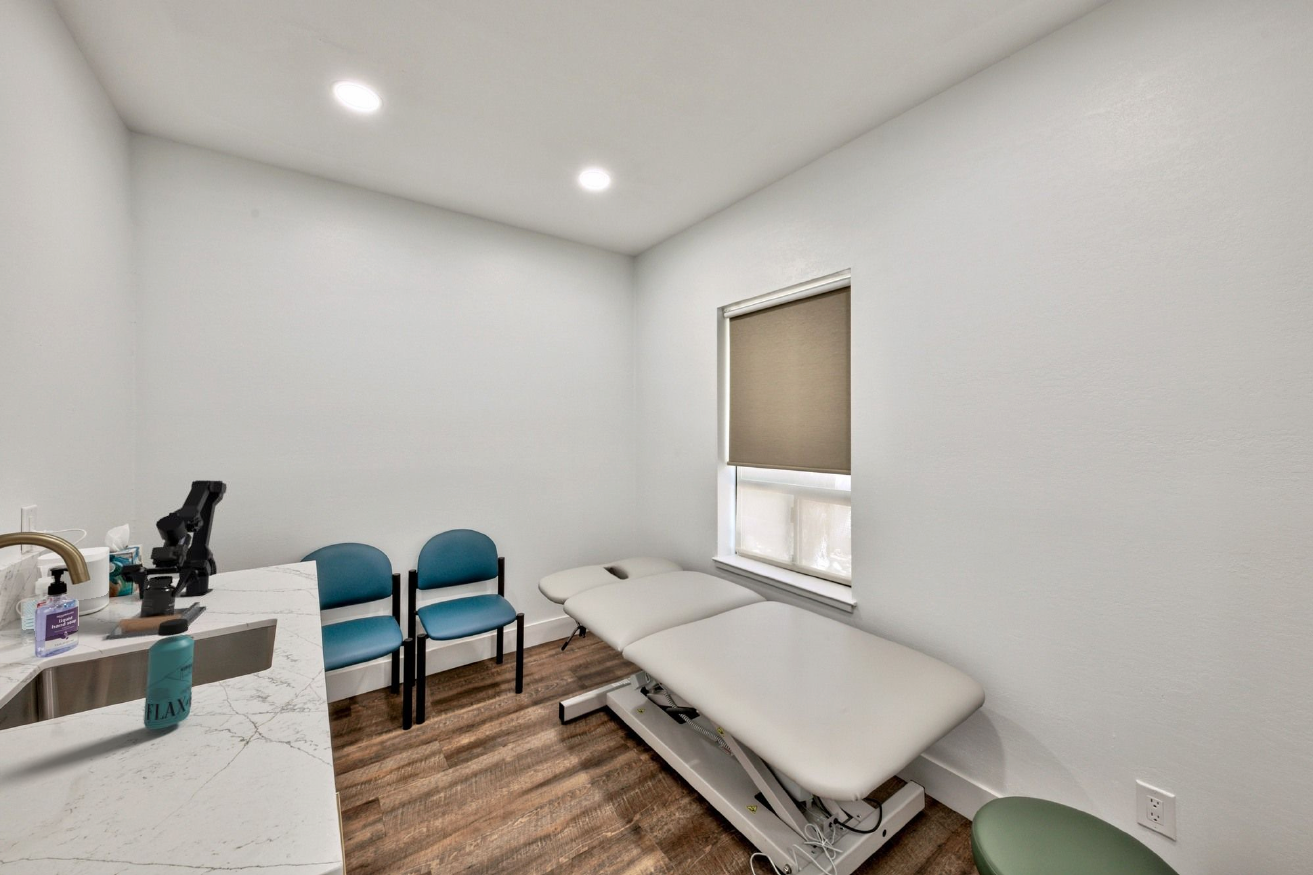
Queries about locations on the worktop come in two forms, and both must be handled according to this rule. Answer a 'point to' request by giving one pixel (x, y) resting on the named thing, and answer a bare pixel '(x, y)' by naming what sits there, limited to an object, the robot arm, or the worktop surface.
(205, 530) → the robot arm
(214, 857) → the worktop surface
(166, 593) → the supplement bottle
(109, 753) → the worktop surface
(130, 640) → the worktop surface
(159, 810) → the worktop surface
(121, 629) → the rail plate
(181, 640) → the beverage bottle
